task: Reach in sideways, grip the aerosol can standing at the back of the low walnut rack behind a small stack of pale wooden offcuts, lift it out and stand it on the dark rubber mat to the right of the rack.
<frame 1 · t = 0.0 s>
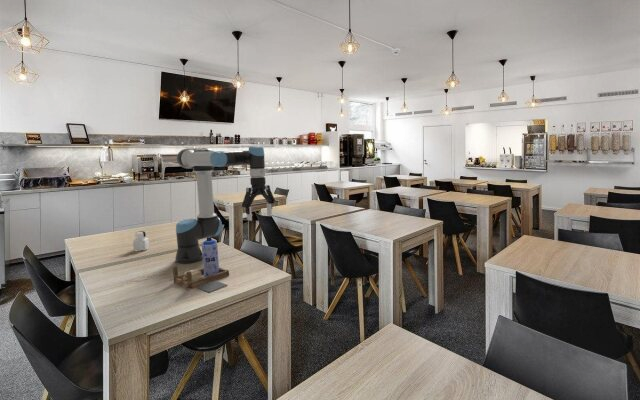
hand: (259, 218, 179), 28 cm above the table, tool pointing down, fingers open, 13 cm apart
rack: (202, 278, 173), on the table
mat: (212, 286, 162), on the table
aerosol can: (211, 275, 177), resting in rack
offcut low: (193, 282, 169), resting in rack, touching offcut top
medicine bottle: (142, 249, 227), on the table
offcut top: (193, 276, 168), point 3 cm above the table, touching offcut low
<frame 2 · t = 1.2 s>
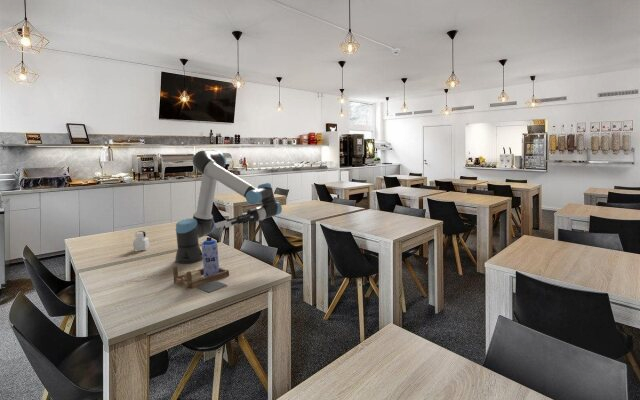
hand: (220, 225, 181), 24 cm above the table, tool horizontal, fingers open, 13 cm apart
nothing on the table moved.
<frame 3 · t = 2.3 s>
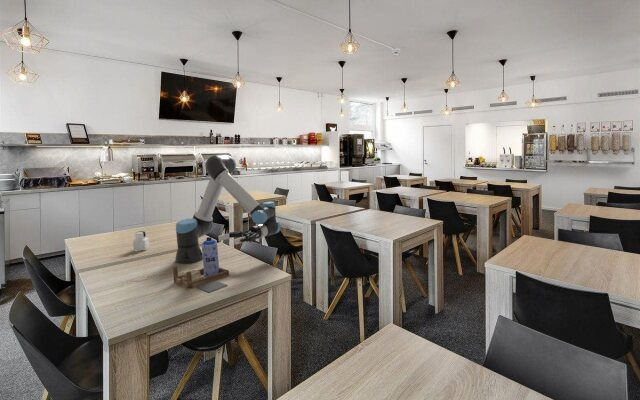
hand: (226, 240, 182), 16 cm above the table, tool horizontal, fingers open, 13 cm apart
nothing on the table moved.
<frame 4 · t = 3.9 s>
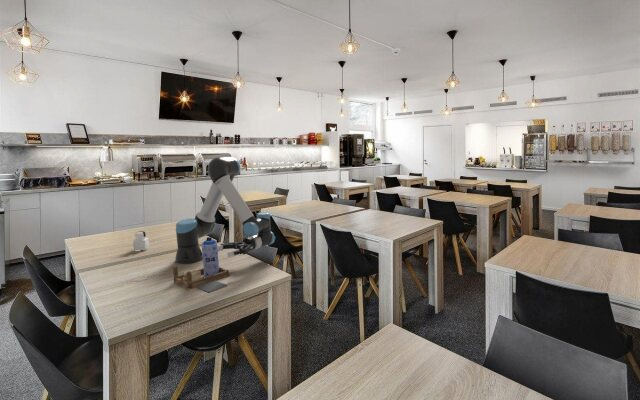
hand: (219, 252, 179), 11 cm above the table, tool horizontal, fingers open, 13 cm apart
nothing on the table moved.
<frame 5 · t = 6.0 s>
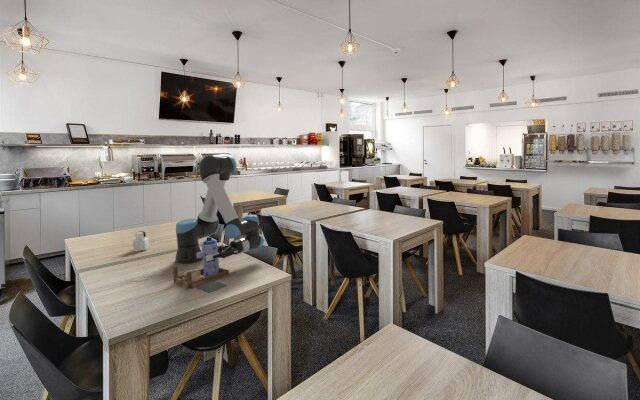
hand: (201, 257, 171), 11 cm above the table, tool horizontal, fingers closed on aerosol can, 7 cm apart
aerosol can: (211, 275, 177), resting in rack, touching gripper
everything else where it was.
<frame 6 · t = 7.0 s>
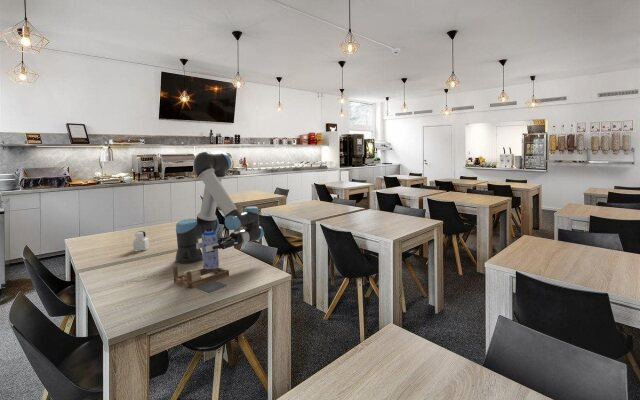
hand: (201, 247, 171), 16 cm above the table, tool horizontal, fingers closed on aerosol can, 7 cm apart
aerosol can: (211, 266, 176), point 5 cm above the table, touching gripper
everything else where it was.
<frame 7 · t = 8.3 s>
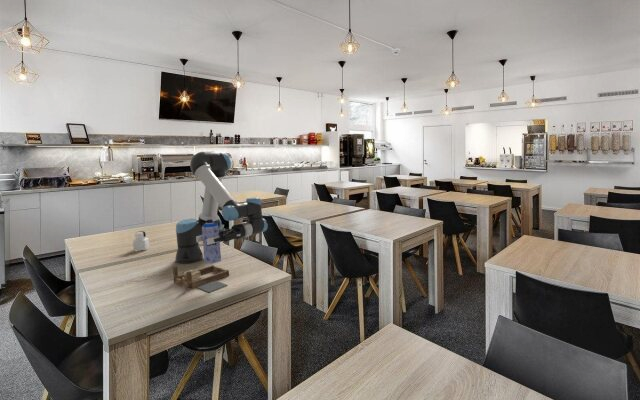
hand: (201, 240, 158), 22 cm above the table, tool horizontal, fingers closed on aerosol can, 7 cm apart
aerosol can: (212, 261, 164), point 11 cm above the table, touching gripper
everything else where it was.
when the fingers open (12 cm above the table, at t = 10.8 s): aerosol can drops 1 cm, resting on mat.
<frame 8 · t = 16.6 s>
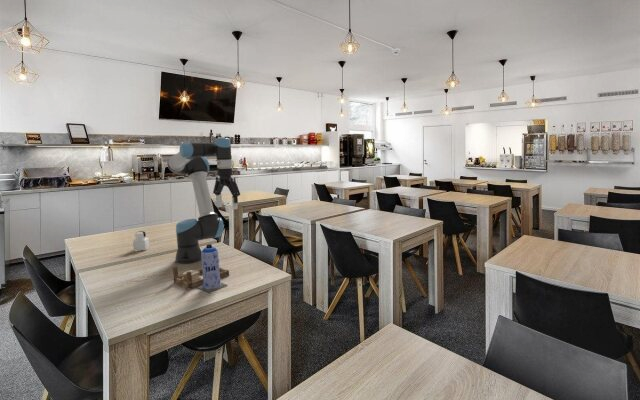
hand: (227, 208, 183), 33 cm above the table, tool pointing down, fingers open, 13 cm apart
aerosol can: (212, 286, 162), resting on mat
everything else where it was.
at the end: aerosol can inside the target area (0.1 cm from its centre), resting on mat; aerosol can tilted 0°; the gripper is holding nothing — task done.
